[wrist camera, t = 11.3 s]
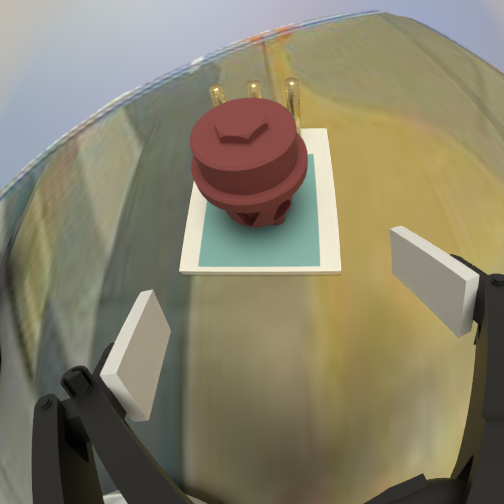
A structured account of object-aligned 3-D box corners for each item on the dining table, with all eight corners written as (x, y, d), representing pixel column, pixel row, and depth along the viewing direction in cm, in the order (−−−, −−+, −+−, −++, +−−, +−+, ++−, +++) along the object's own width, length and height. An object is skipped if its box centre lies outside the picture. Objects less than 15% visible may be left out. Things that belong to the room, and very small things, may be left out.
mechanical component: (202, 241, 32) (227, 165, 35) (299, 255, 29) (312, 174, 33) (155, 166, 20) (199, 83, 24) (297, 176, 18) (313, 85, 22)
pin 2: (257, 145, 36) (245, 87, 28) (257, 137, 37) (246, 80, 28) (268, 144, 36) (259, 86, 28) (269, 136, 36) (260, 79, 28)
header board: (182, 274, 32) (179, 271, 31) (205, 140, 39) (203, 134, 38) (339, 274, 29) (341, 270, 28) (326, 134, 37) (326, 128, 36)
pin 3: (290, 143, 35) (284, 85, 27) (289, 136, 36) (284, 77, 28) (301, 143, 35) (298, 84, 27) (301, 135, 36) (297, 77, 28)
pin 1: (225, 147, 37) (208, 92, 28) (226, 139, 37) (209, 84, 29) (236, 146, 36) (221, 90, 28) (237, 138, 37) (222, 83, 29)
